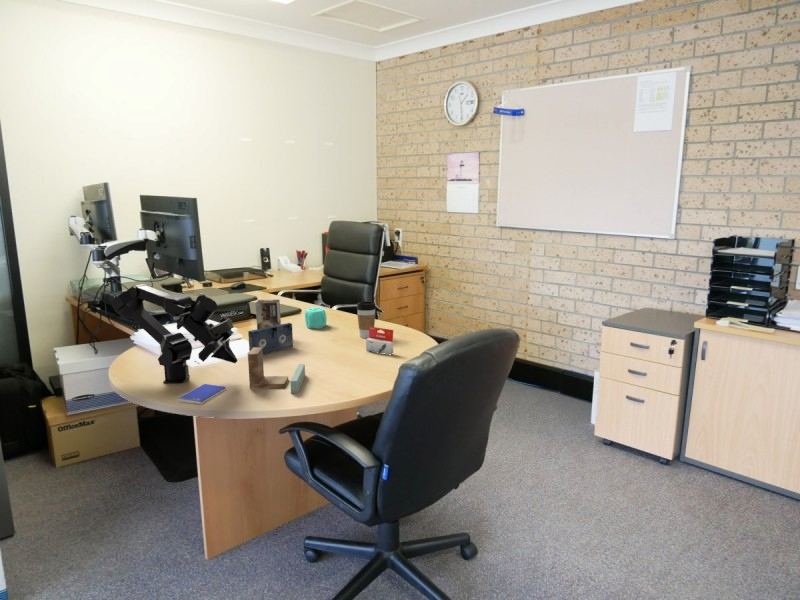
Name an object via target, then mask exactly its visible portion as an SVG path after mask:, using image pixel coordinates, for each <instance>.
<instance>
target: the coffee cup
mask: <svg viewBox="0 0 800 600" xmlns="http://www.w3.org/2000/svg"><path fill="white" fill-rule="evenodd" d="M376 309H377V306H376V302H373V301H360V302H357V305H356V310H357V322H358V331H359V338H361V337H362V339H368V338H369V326H370V327H375V323H376V321H375V320H376Z"/></svg>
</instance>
